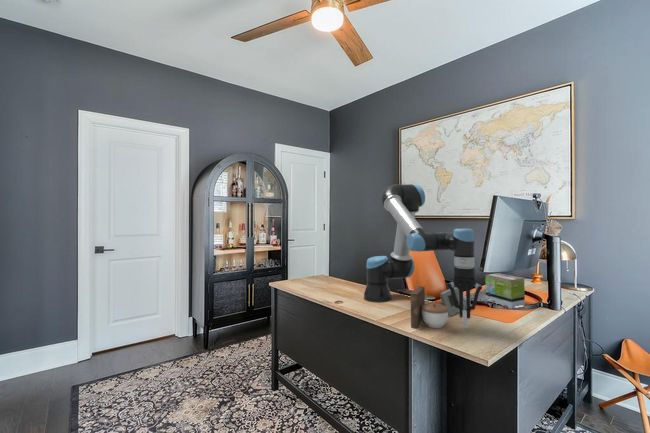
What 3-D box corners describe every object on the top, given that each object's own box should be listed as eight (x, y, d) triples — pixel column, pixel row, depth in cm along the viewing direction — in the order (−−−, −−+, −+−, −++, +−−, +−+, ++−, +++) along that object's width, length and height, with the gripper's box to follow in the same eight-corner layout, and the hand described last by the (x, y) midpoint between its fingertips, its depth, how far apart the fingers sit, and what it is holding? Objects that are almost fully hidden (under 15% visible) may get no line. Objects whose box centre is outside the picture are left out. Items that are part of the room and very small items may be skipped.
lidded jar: (454, 326, 129) (453, 304, 129) (437, 332, 123) (436, 308, 123) (432, 319, 138) (432, 298, 138) (416, 324, 132) (415, 302, 132)
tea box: (484, 302, 164) (484, 274, 164) (498, 299, 168) (497, 272, 168) (511, 309, 151) (511, 279, 151) (525, 307, 154) (525, 277, 155)
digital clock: (449, 317, 140) (448, 294, 140) (432, 312, 148) (432, 290, 148) (471, 311, 149) (470, 289, 149) (454, 307, 156) (454, 285, 156)
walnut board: (411, 327, 128) (410, 293, 128) (419, 317, 141) (418, 286, 141) (417, 328, 127) (416, 294, 127) (425, 317, 140) (424, 286, 140)
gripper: (445, 267, 125) (446, 326, 125) (481, 269, 118) (482, 331, 118) (448, 264, 131) (449, 320, 131) (482, 266, 125) (483, 325, 125)
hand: (465, 325), depth 125 cm, fingers closed
